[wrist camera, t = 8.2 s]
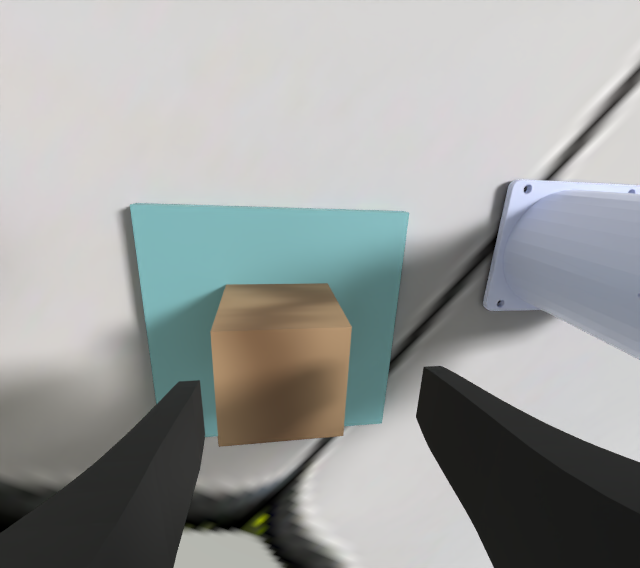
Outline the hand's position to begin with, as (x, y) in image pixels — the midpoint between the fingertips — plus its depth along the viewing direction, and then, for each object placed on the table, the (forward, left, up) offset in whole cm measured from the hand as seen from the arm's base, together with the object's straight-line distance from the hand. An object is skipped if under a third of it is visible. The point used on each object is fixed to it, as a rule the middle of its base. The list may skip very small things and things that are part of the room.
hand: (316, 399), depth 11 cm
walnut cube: (+1, +2, -9) cm, 9 cm away
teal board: (+1, +2, -9) cm, 10 cm away
